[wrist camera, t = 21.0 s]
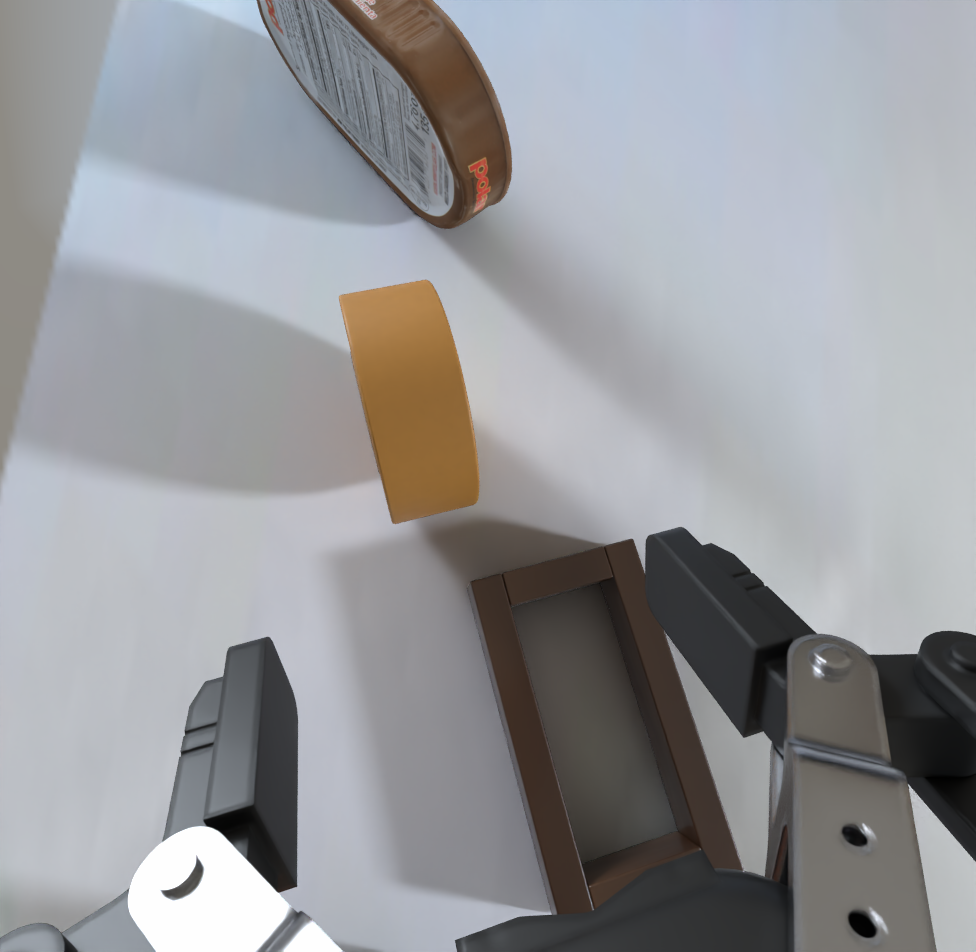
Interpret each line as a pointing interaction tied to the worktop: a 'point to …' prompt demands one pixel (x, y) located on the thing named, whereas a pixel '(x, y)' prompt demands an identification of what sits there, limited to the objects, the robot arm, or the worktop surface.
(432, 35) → the tin
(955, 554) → the worktop surface
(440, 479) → the tape roll
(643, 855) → the tape holder
